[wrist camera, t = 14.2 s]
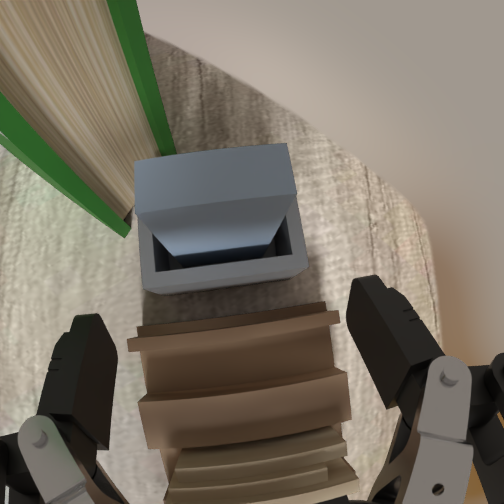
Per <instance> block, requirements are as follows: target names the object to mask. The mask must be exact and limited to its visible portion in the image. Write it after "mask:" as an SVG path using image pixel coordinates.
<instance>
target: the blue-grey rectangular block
mask: <svg viewBox="0 0 504 504" xmlns="http://www.w3.org/2000/svg"><path fill="white" fill-rule="evenodd" d="M134 189H135V214H136V215H137V216H138V217H139V219H140V220H141V221H142V222H143V223H144V224H145V225H146V227H147V228H148V229H149V230H150V231H151V232H152V233H153V234H154V235H155V237H156V238H157V239H158V240H159V241H160V242H161V243H162V244H163V245H164V247H165V248H166V249H167V250H168V251H169V252H170V253H171V254H172V255H173V256H174V258H175V259H176V260H177V261H178V262H179V263H180V264H181V265H182V266H183V267H190V266H198V265H206V264H214V263H222V262H230V261H237V260H245V259H253V258H261V257H263V255H264V253H265V251H266V250H267V248H268V246H269V244H270V242H271V241H272V239H273V237H274V235H275V233H276V231H277V230H278V228H279V226H280V224H281V222H282V220H283V219H284V217H285V215H286V213H287V211H288V210H289V208H290V206H291V204H292V202H293V200H294V199H295V197H296V195H297V190H296V185H295V180H294V176H293V171H292V166H291V161H290V157H289V152H288V147H287V143H280V144H267V145H254V146H243V147H233V148H223V149H215V150H206V151H198V152H191V153H183V154H176V155H169V156H163V157H157V158H150V159H144V160H139V161H134Z"/></svg>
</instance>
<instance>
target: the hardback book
mask: <svg viewBox="0 0 504 504" xmlns="http://www.w3.org/2000/svg"><path fill="white" fill-rule="evenodd" d="M0 144H1V145H2V146H3V147H4V148H6V149H7V150H8V151H9V152H10V153H12V154H13V155H14V156H15V157H17V158H18V159H19V160H20V161H21V162H23V163H24V164H25V165H27V166H28V167H29V168H30V169H32V170H33V171H34V172H35V173H37V174H38V175H39V176H41V177H42V178H43V179H44V180H46V181H47V182H48V183H50V184H51V185H52V186H53V187H55V188H56V189H57V190H59V191H60V192H61V193H63V194H64V195H65V196H67V197H68V198H69V199H71V200H72V201H73V202H75V203H76V204H77V205H79V206H80V207H81V208H83V209H84V210H86V211H87V212H88V213H90V214H91V215H92V216H94V217H95V218H97V219H98V220H99V221H101V222H102V223H104V224H105V225H106V226H108V227H109V228H111V229H112V230H113V231H115V232H116V233H118V234H119V235H120V236H122V237H123V238H125V237H126V236H127V234H128V233H129V231H130V230H131V228H130V227H129V226H128V225H127V224H126V223H125V222H124V221H123V220H124V218H125V217H126V215H127V214H128V212H129V211H130V210H131V208H132V207H133V205H134V204H135V189H134V161H139V160H144V159H150V158H157V157H163V156H169V155H176V154H177V152H176V149H175V146H174V142H173V139H172V135H171V132H170V128H169V125H168V121H167V118H166V114H165V111H164V107H163V104H162V100H161V96H160V93H159V89H158V85H157V82H156V78H155V74H154V71H153V67H152V63H151V59H150V55H149V51H148V48H147V44H146V40H145V36H144V32H143V28H142V24H141V20H140V15H139V11H138V7H137V3H136V0H0Z"/></svg>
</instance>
